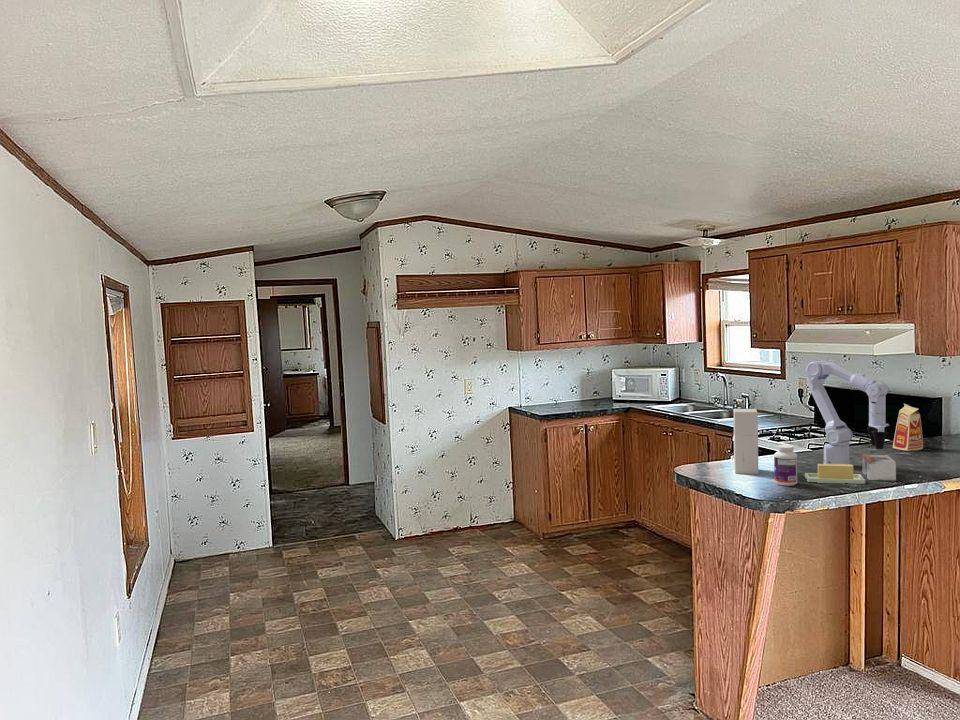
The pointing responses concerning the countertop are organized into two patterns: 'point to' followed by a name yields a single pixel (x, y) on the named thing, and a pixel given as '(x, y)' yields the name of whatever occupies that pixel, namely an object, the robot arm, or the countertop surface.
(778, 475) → the pill bottle
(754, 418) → the tall white carton
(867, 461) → the dispenser
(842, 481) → the tray
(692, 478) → the countertop surface
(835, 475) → the tan rectangular block
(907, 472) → the countertop surface
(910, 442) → the milk carton
